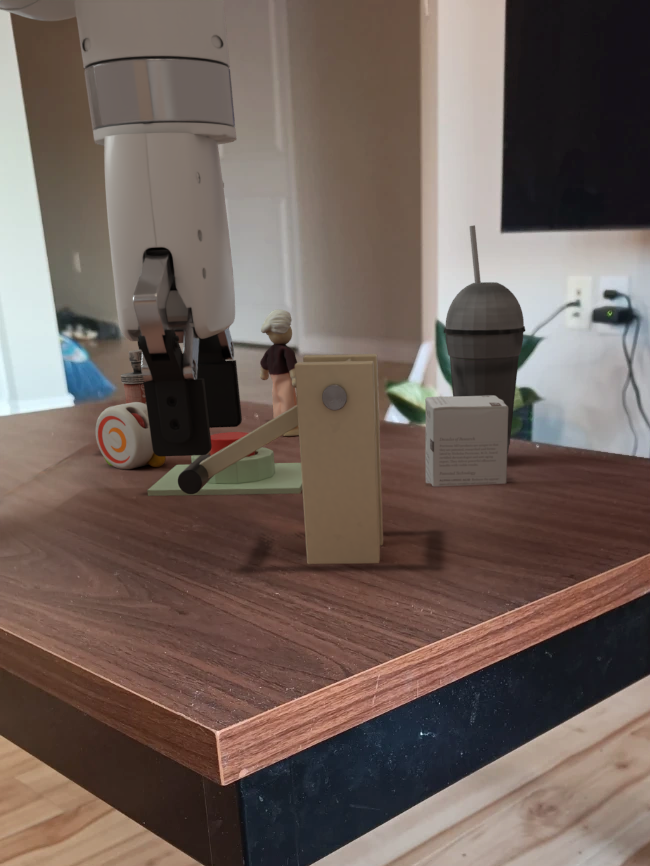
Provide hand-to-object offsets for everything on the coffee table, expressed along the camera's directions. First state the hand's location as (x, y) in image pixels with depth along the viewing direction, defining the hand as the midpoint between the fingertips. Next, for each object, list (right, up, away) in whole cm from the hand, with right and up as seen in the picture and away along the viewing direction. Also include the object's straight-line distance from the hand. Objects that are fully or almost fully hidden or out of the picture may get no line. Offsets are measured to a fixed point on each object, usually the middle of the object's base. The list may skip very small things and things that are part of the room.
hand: (201, 439), depth 62 cm
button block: (-2, +2, +24) cm, 24 cm away
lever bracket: (+9, -7, +3) cm, 12 cm away
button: (-2, +5, +22) cm, 23 cm away
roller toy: (-13, +7, +36) cm, 39 cm away
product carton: (+17, +2, +23) cm, 29 cm away
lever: (+5, 0, 0) cm, 5 cm away
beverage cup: (+20, +7, +35) cm, 41 cm away
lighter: (-13, +12, +46) cm, 49 cm away
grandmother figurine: (-1, +15, +52) cm, 54 cm away
